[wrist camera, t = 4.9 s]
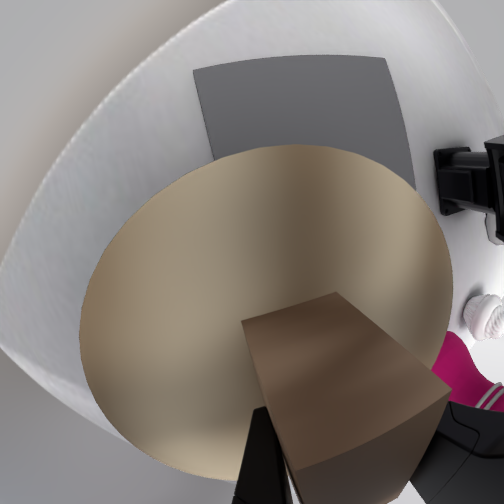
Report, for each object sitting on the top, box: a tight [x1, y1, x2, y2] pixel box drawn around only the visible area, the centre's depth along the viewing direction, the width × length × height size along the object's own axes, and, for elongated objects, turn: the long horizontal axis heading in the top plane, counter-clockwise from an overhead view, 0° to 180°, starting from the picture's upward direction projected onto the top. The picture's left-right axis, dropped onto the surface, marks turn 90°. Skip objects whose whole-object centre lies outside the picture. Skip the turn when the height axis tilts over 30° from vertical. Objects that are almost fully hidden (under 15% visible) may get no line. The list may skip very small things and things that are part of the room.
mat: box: [193, 55, 416, 191], centre depth 19 cm, size 16×16×1 cm
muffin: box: [463, 294, 504, 341], centre depth 23 cm, size 6×6×7 cm
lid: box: [79, 144, 453, 504], centre depth 7 cm, size 15×15×6 cm
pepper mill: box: [431, 331, 504, 412], centre depth 16 cm, size 7×7×20 cm
